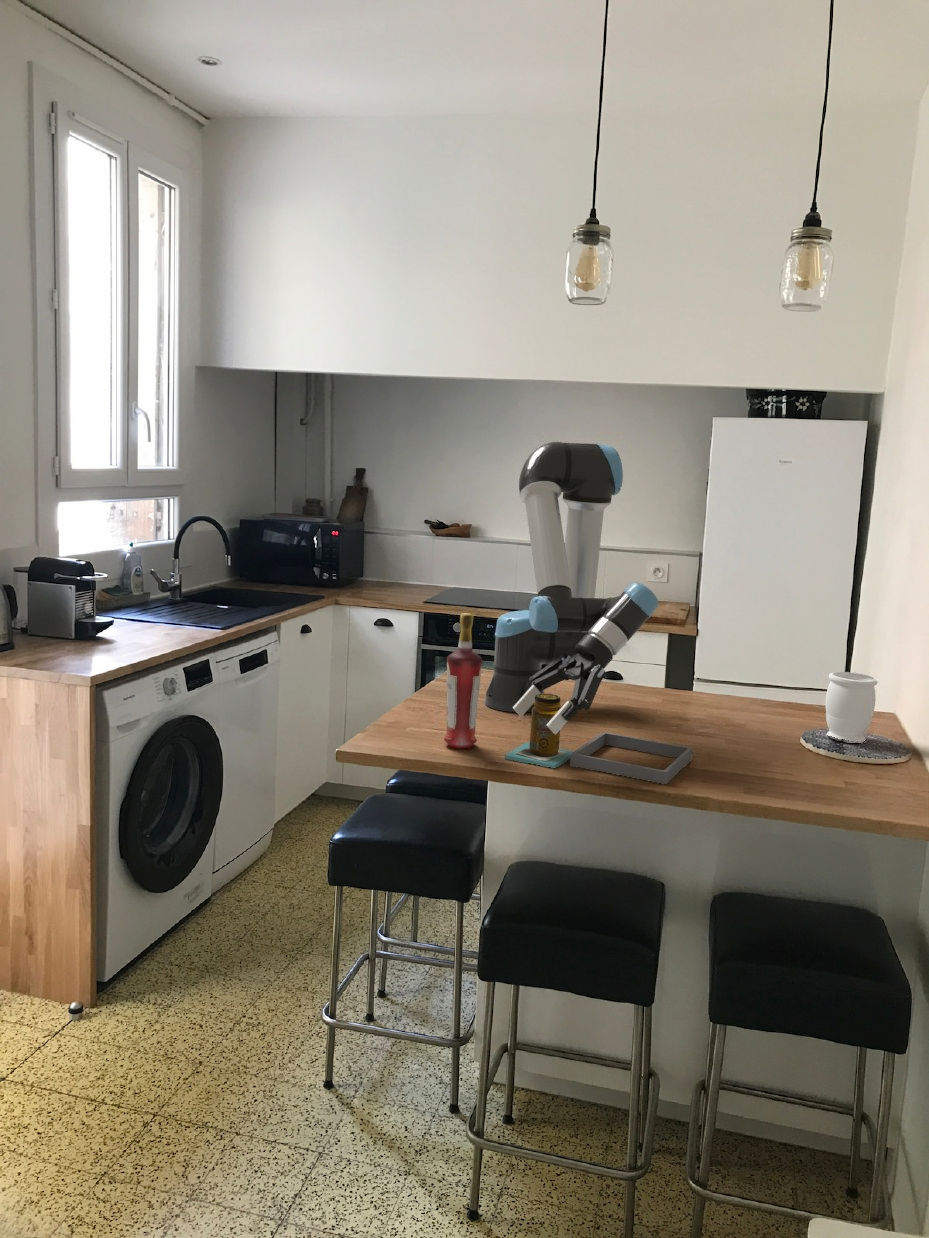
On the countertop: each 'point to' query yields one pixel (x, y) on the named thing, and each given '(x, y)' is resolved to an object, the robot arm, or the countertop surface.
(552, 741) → the condiment
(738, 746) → the countertop surface
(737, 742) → the countertop surface
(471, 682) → the liquor
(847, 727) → the jar
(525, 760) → the coaster
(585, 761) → the frame
